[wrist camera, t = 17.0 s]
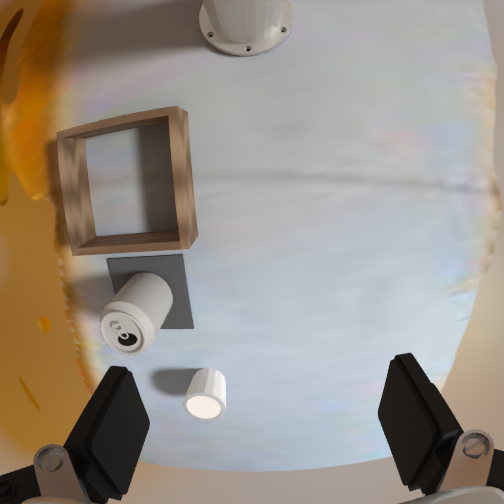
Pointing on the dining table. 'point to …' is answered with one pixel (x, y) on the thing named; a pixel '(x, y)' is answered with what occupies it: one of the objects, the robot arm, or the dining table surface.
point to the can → (136, 314)
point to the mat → (170, 272)
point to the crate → (79, 193)
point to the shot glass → (206, 395)
